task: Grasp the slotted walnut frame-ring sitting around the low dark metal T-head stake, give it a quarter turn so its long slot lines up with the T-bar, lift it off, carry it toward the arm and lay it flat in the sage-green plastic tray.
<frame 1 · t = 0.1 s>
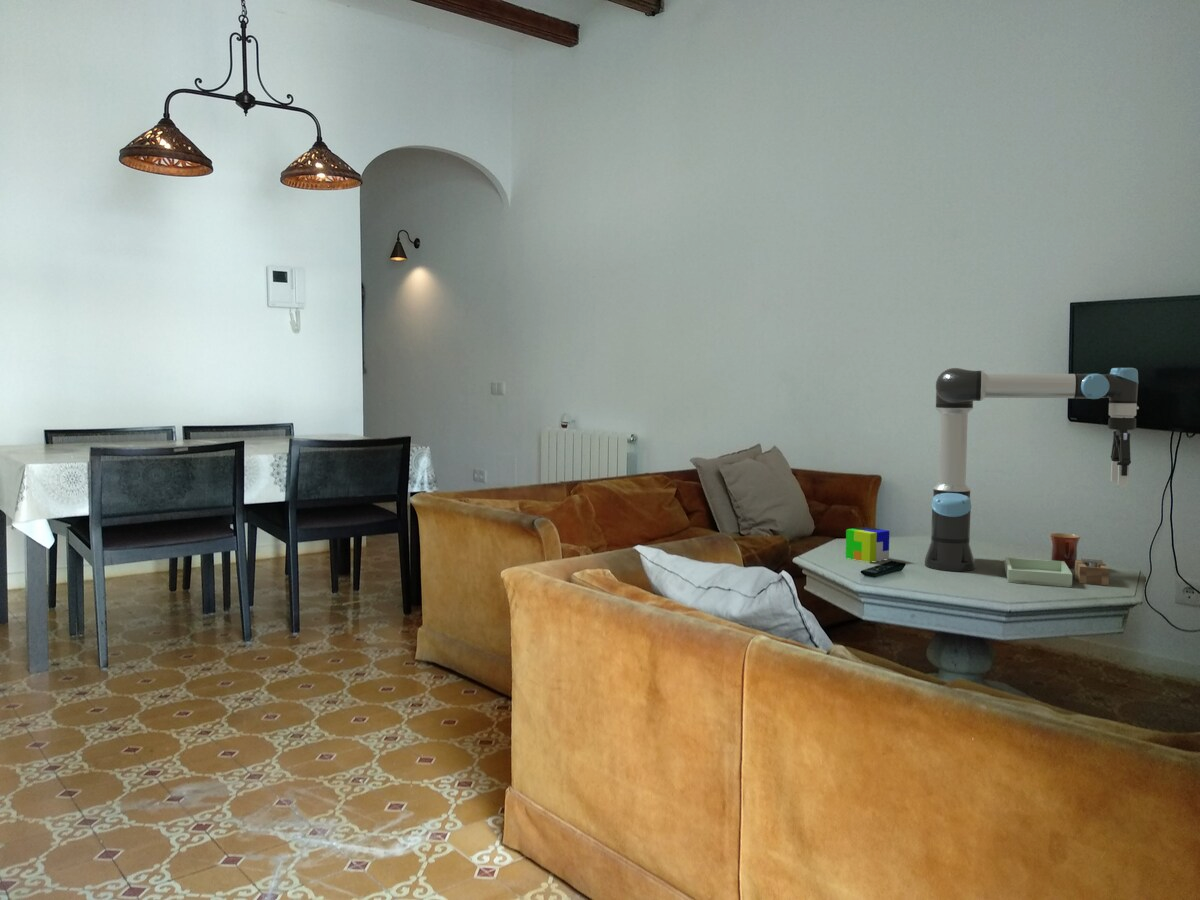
hand: (1119, 483, 274), 28 cm above the table, fingers open, 13 cm apart
tray: (1036, 577, 267), on the table
ring: (1091, 580, 263), on the table
mug: (1065, 568, 282), on the table
stake: (1091, 580, 263), on the table
puzzle toy: (867, 559, 295), on the table
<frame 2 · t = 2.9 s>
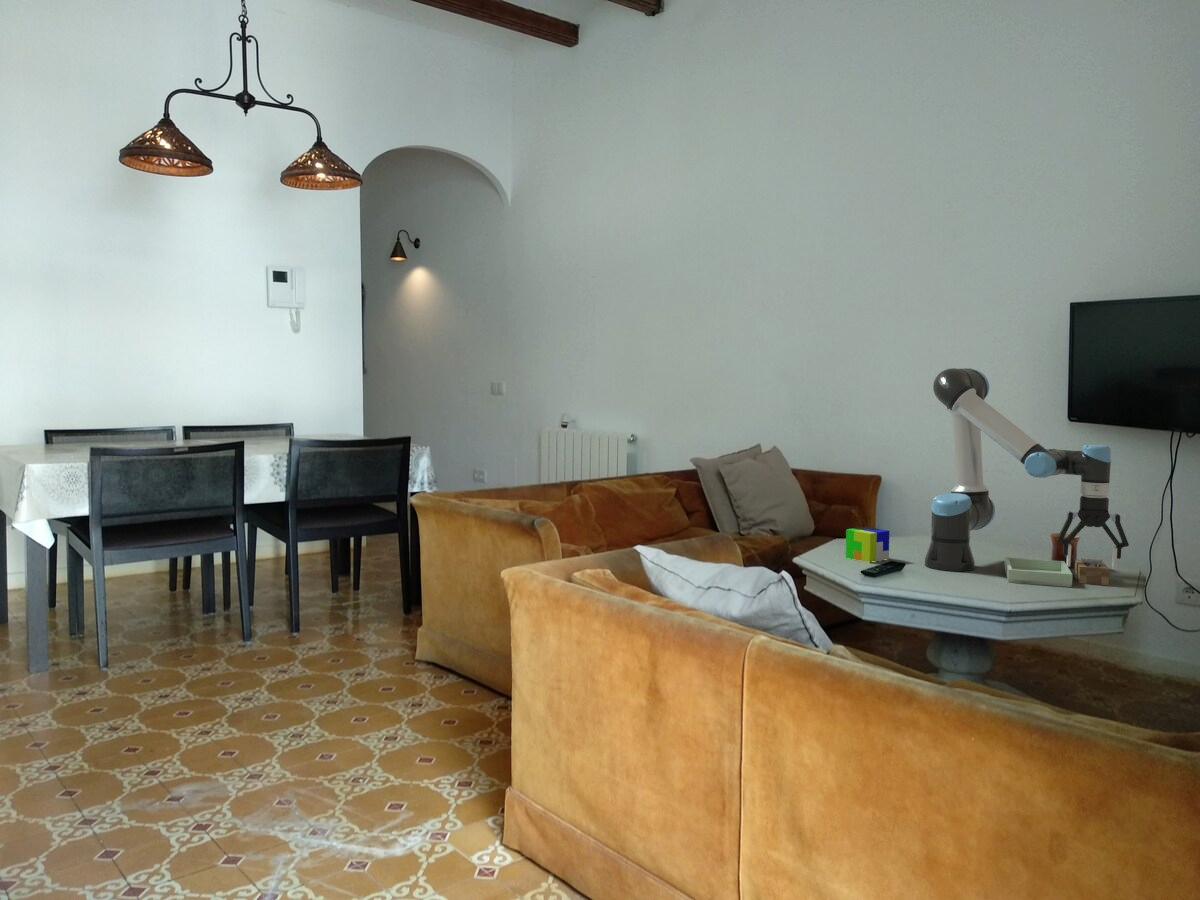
hand: (1090, 567, 263), 4 cm above the table, fingers open, 11 cm apart
nothing on the table moved.
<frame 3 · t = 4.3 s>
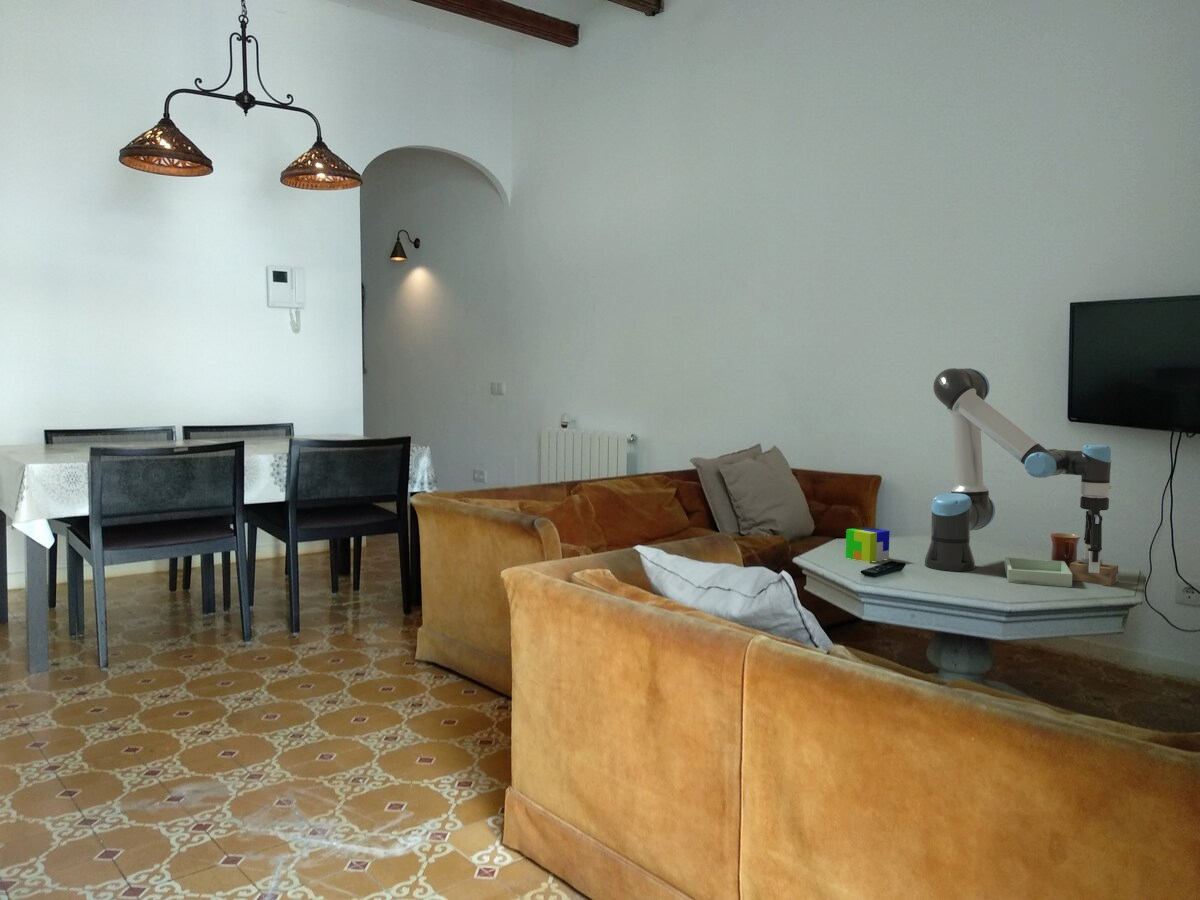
hand: (1091, 569, 263), 3 cm above the table, fingers closed on ring, 10 cm apart
ring: (1093, 580, 263), on the table, touching gripper
everything else where it was.
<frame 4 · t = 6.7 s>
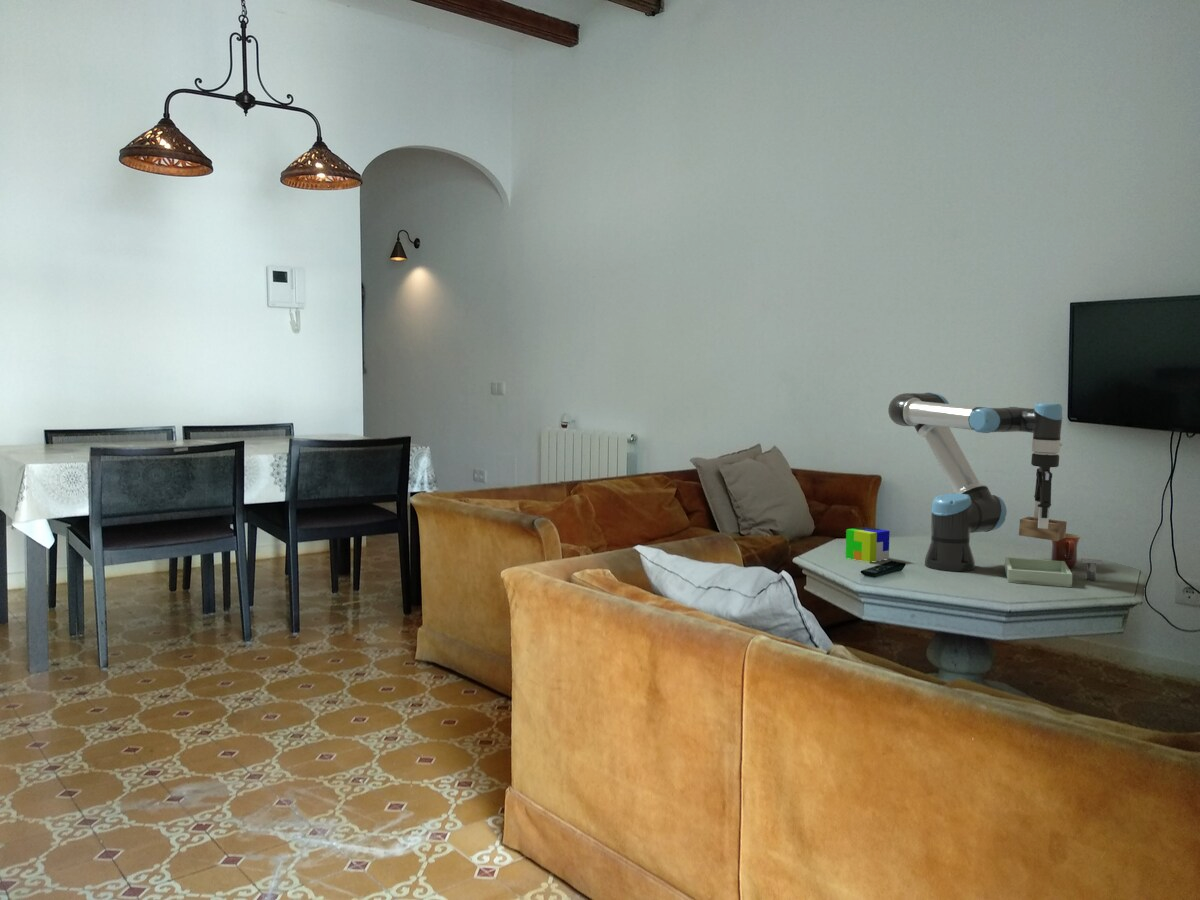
hand: (1040, 525, 267), 16 cm above the table, fingers closed on ring, 10 cm apart
ring: (1042, 536, 267), point 13 cm above the table, touching gripper
everything else where it was.
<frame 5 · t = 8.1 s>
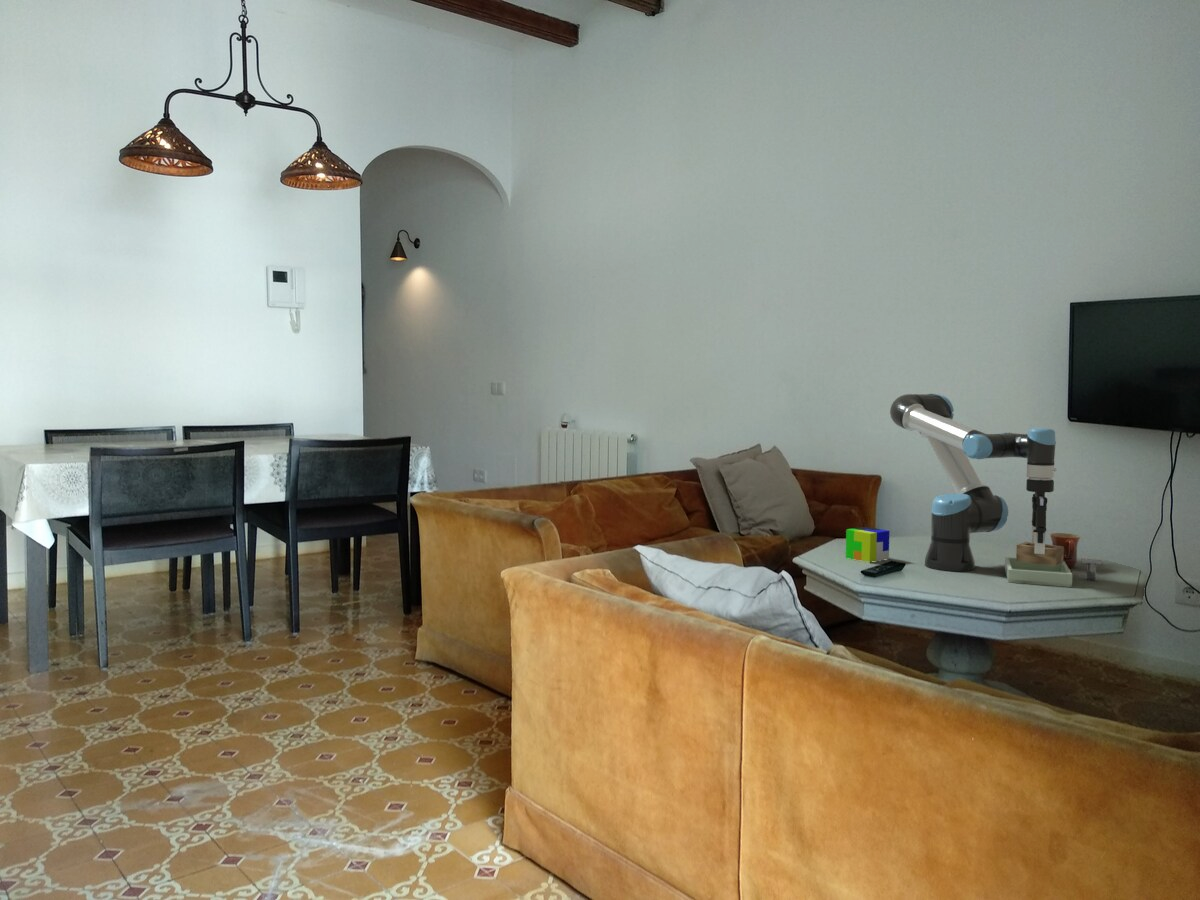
hand: (1037, 550, 267), 8 cm above the table, fingers closed on ring, 10 cm apart
ring: (1039, 561, 267), point 5 cm above the table, touching gripper
everything else where it was.
when the fingers open (4 cm above the table, at t = 9.2 s): ring stays where it is, resting on tray.
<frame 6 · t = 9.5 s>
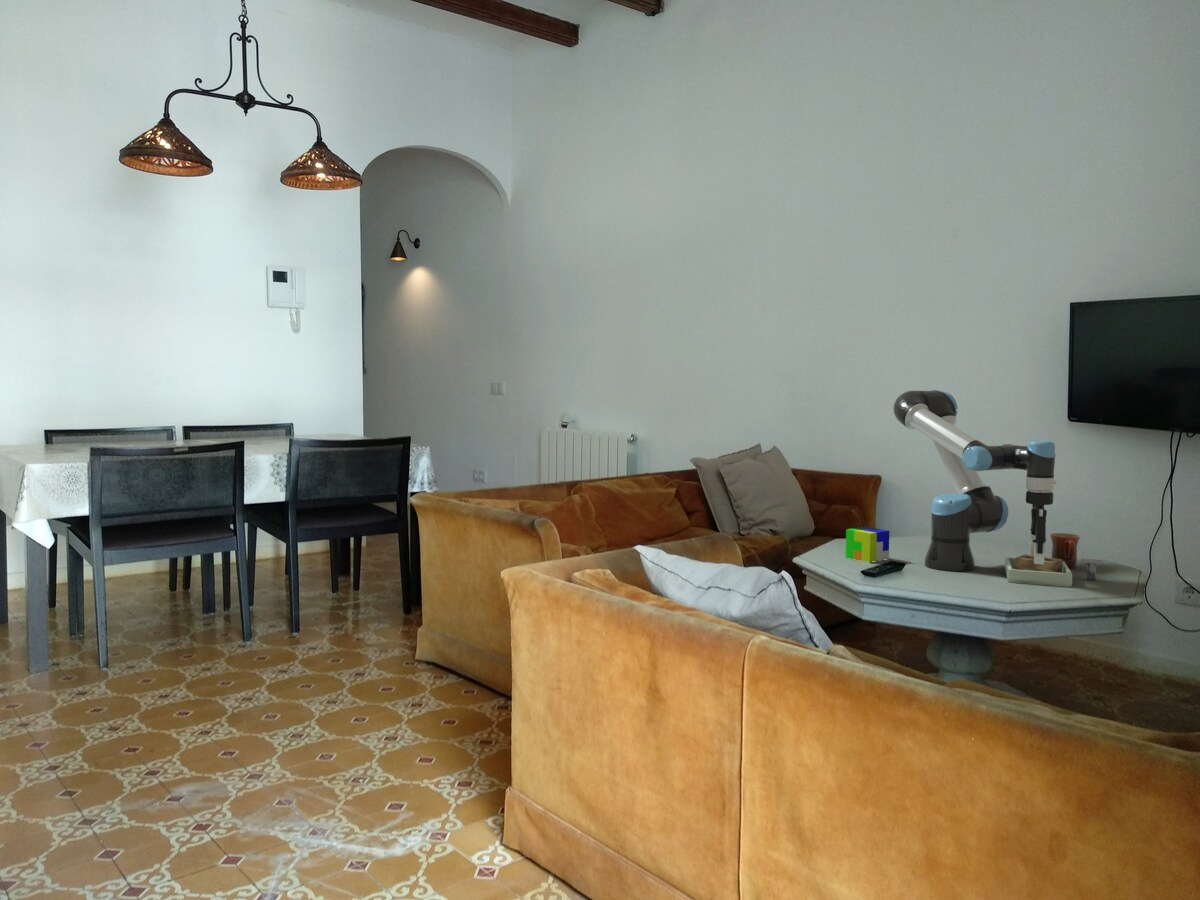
hand: (1036, 559, 268), 5 cm above the table, fingers open, 12 cm apart
ring: (1038, 574, 268), point 1 cm above the table, touching tray
everything else where it was.
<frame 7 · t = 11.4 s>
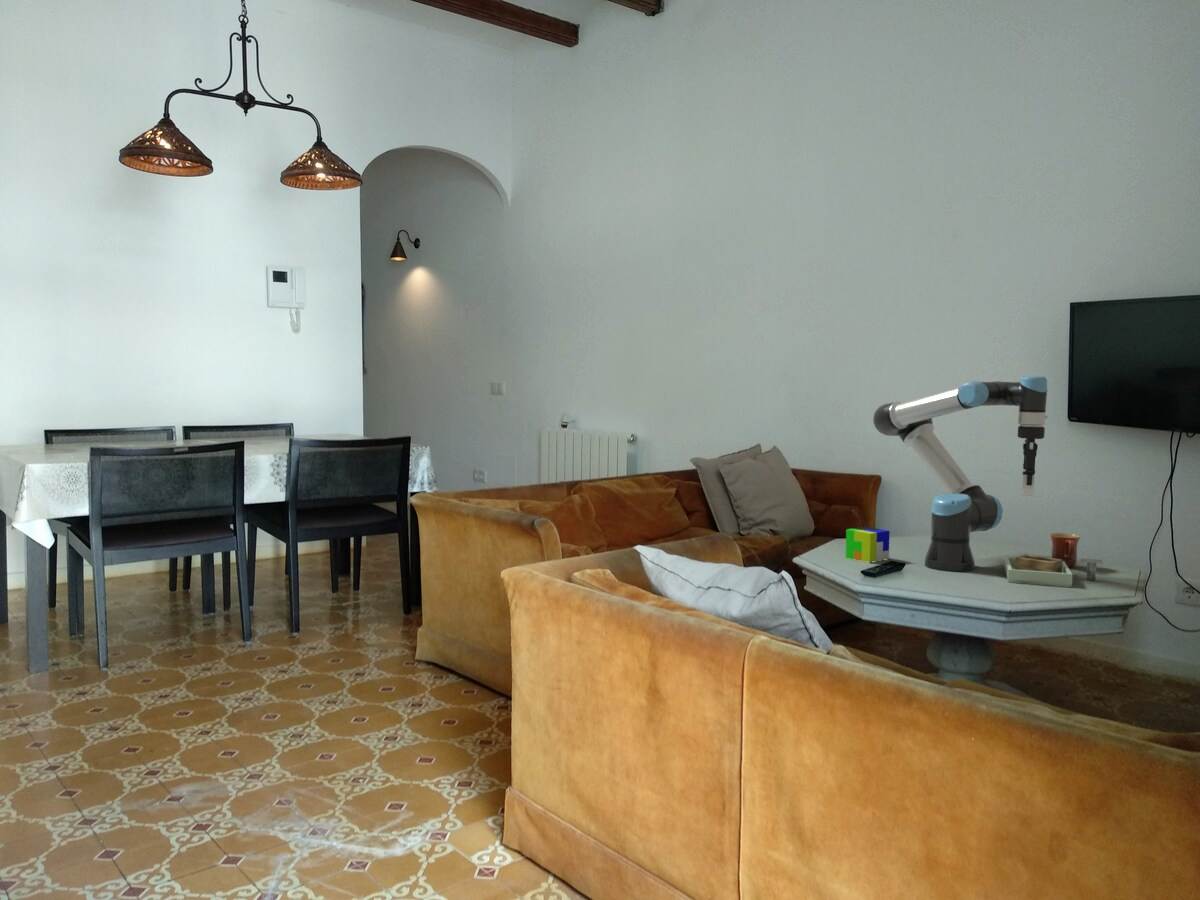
hand: (1027, 493, 273), 25 cm above the table, fingers open, 13 cm apart
nothing on the table moved.
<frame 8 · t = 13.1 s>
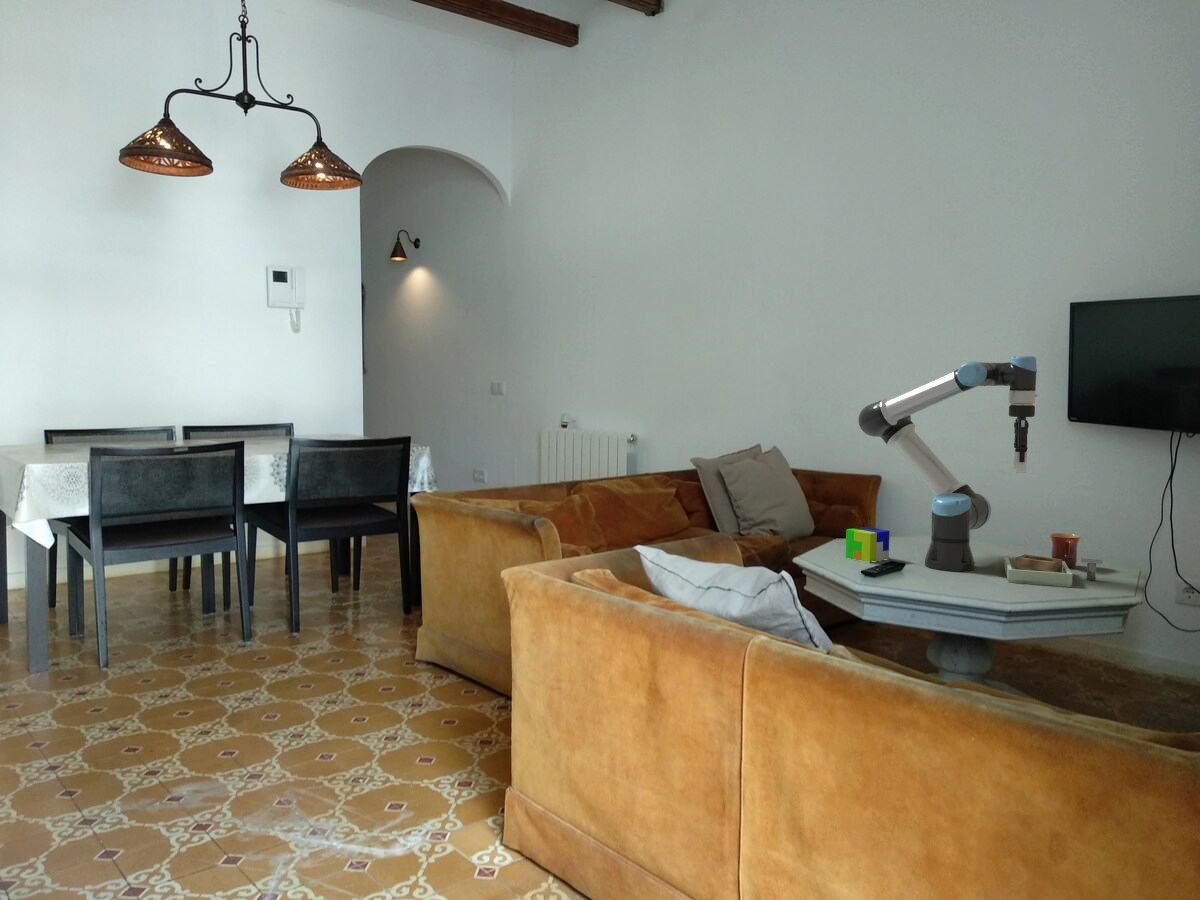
hand: (1019, 470, 278), 32 cm above the table, fingers open, 13 cm apart
nothing on the table moved.
at the end: ring inside the target area on the tray (0.9 cm from its centre), point 0.8 cm above the tray's base; ring tilted 0°; the gripper is holding nothing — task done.
